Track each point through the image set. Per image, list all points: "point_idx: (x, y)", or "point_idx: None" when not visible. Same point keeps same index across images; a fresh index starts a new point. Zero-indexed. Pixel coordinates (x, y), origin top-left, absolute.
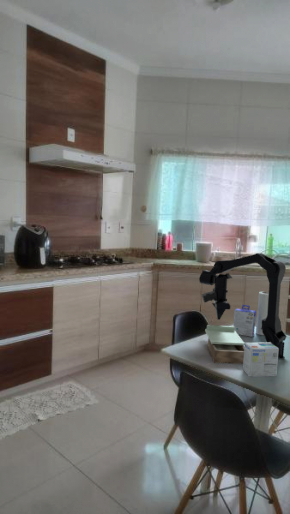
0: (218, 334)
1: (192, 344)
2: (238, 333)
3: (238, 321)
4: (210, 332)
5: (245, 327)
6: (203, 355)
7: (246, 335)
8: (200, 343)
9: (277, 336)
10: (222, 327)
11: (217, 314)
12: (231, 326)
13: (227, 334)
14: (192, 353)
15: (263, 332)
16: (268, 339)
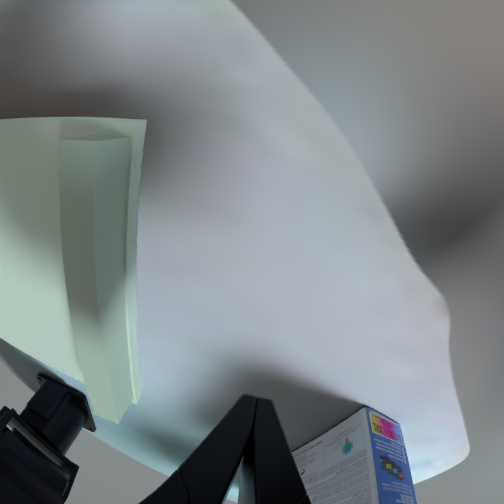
0: (12, 221)
1: (146, 15)
2: (338, 429)
3: (346, 493)
4: (40, 157)
5: (310, 481)
6: (4, 80)
7: (304, 446)
8: (162, 78)
9: (65, 470)
10: (77, 323)
11: (192, 454)
12: (107, 406)
13: (29, 298)
14: (27, 23)
15: (2, 435)
16: (2, 416)
